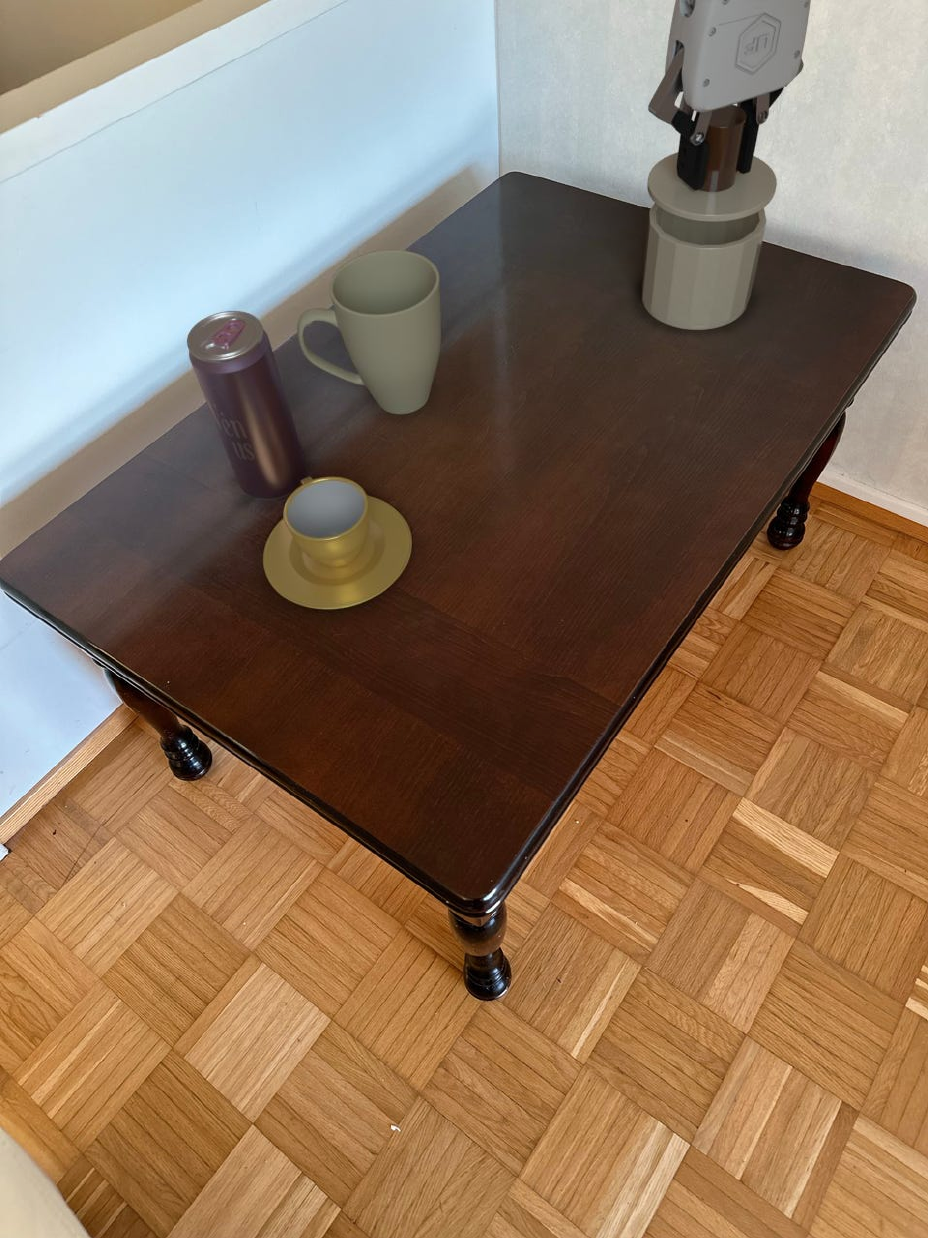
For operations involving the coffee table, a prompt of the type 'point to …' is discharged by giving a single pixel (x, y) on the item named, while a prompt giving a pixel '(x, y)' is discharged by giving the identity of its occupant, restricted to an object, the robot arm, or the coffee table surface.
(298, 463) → the beverage can
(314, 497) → the cup
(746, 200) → the lid
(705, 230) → the pot
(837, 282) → the coffee table surface
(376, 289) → the mug
